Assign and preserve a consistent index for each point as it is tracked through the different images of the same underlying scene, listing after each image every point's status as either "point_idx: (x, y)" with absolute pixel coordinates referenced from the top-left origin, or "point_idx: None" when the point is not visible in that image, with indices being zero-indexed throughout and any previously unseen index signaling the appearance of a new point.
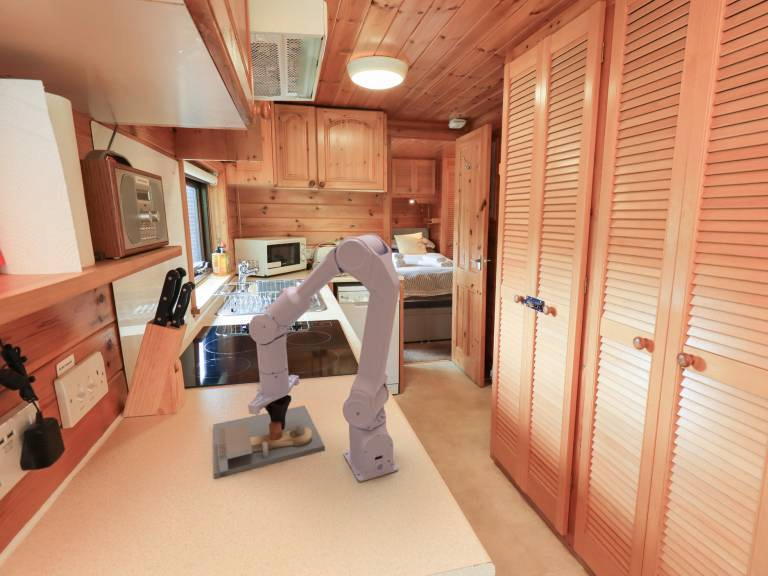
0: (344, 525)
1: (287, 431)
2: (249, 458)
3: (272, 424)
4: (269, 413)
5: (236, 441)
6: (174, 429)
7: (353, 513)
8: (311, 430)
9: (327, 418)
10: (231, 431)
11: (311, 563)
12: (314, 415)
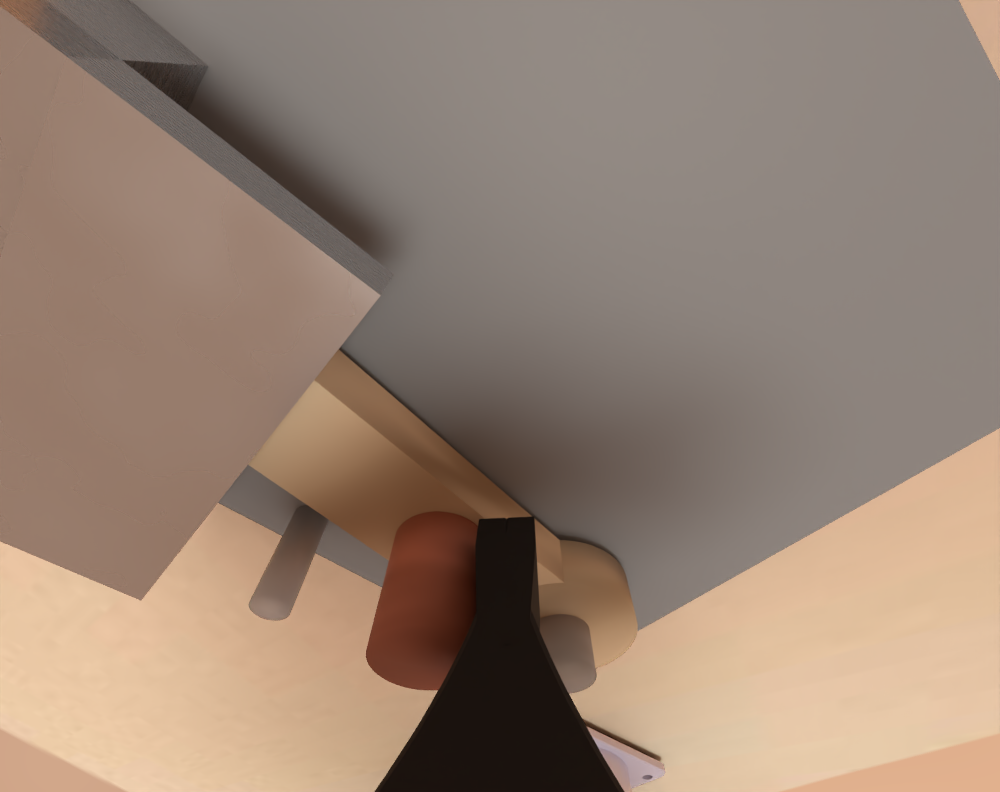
0: (264, 788)
1: (542, 568)
2: None
3: (402, 651)
4: (450, 682)
5: (74, 449)
6: None
7: (313, 789)
8: (681, 580)
9: (896, 543)
10: (112, 248)
11: (122, 780)
12: (947, 457)
